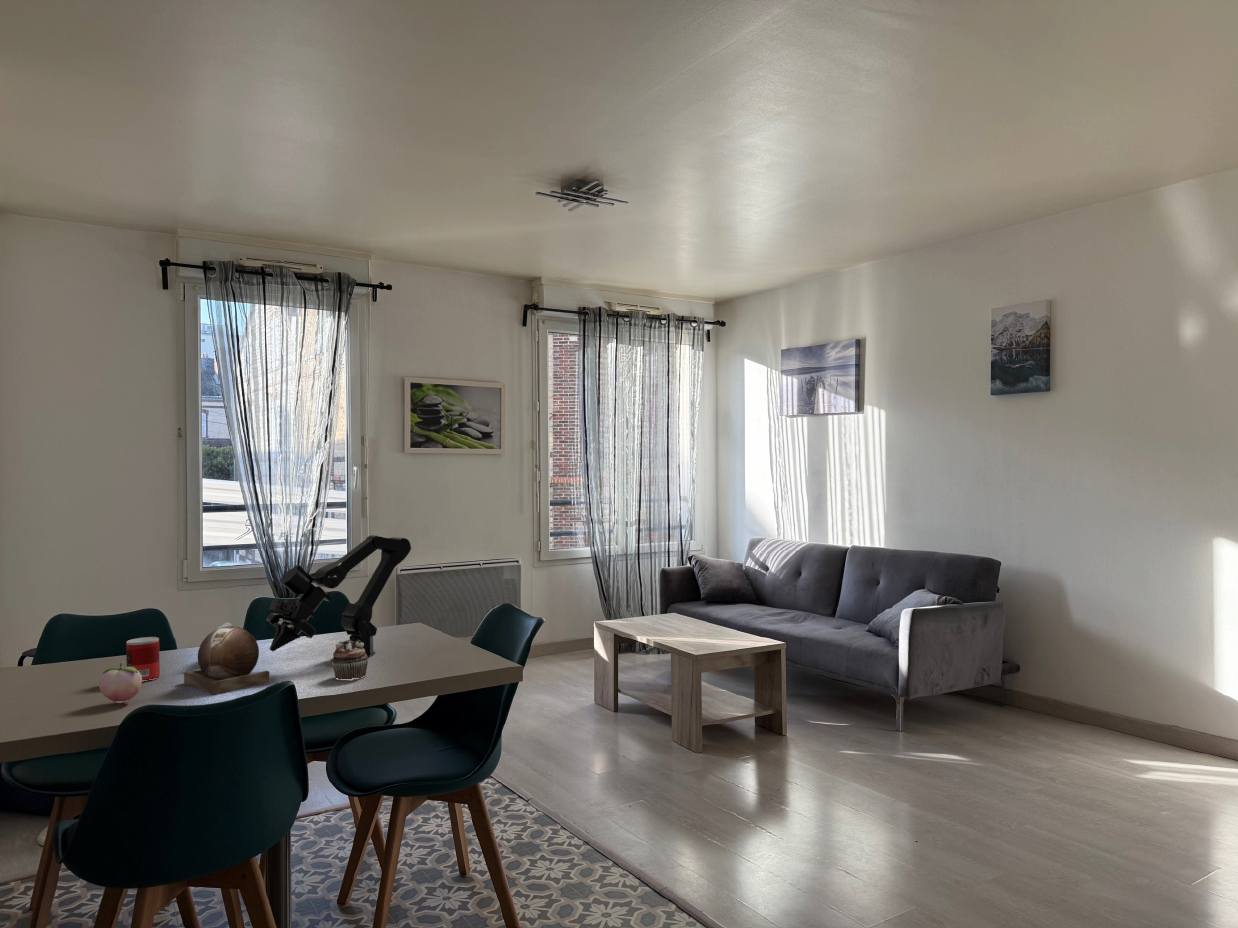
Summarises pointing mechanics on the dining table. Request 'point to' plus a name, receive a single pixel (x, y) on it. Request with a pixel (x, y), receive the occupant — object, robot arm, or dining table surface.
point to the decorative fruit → (120, 683)
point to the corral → (224, 681)
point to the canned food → (144, 656)
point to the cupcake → (350, 660)
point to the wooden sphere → (228, 653)
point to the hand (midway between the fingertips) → (271, 650)
